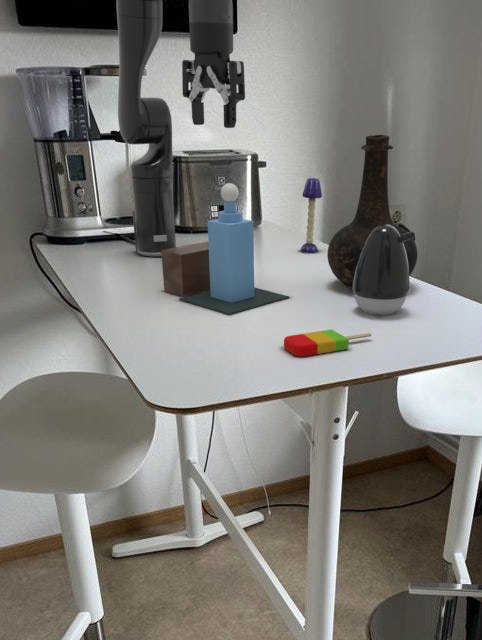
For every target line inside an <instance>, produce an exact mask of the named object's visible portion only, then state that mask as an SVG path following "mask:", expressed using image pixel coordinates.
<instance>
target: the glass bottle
mask: <svg viewBox="0 0 482 640" xmlns="http://www.w3.org/2000/svg"><path fill="white" fill-rule="evenodd" d="M390 138H391V137H390V136H389V135H386V134H374V135H373V134H371V135H367V136H366V135H365V144H364V145H362V146H361V147H360V148H361V150H363V151H364V160H363V169H362V179H361V186H360V192H359V198H358V204H357V208H356V212H355V215H354V217H353V219H352V221H351V222H350V223H349V224H347V225H345V226H343V227H342V228H340V229H339V230H338V231H336V233H335V234H334V235H333V236H332V237H331V239H330V241H329V243H328V248H327V255H326V256H327V263H328V265H329V268H330V270H331V272H332V274H333V275H334V276H335V278H336V279H337V280H338V282H340V283H341V284H342V285H344V286H346V287H347V288H350V289H353V280H354V275H355V270H356V266H357V262H358V259H359V256H360V253H361V251H362V248H363V246H364V244H365V242H366V240H367V238H368V236H369V235H370V233H371V232H372V230H373V229H374V228H376V227H377V226H380V225H384V224H387V225H391V226H393V227H394V228H396V229H397V231H398V232H399V234H400V235H401V234H404V233H408V232H412V231H411V230H410V229H409V228H408V227H407V226H406V225H405V224H403V223H398V225H397V224H395V222H394V221H393V218H392V215H391V210H390V203H389V189H388V188H389V182H388V181H389V180H388V174H389V173H388V172H389V166H388V165H389V150H393V149H394V146H392V145H391V144H389V143H390ZM403 244H404V247H405V250H406V254H407V259H408V266H409V277H410V276H411V275H412V273H413V271H414V270H415V268H416V266H417V262H418V247H417V243H416V236H415V237H414V238H411V239H410V240H407V241H405V242H403Z"/></svg>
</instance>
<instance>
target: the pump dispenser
mask: <svg viewBox="0 0 482 640" xmlns="http://www.w3.org/2000/svg"><path fill="white" fill-rule="evenodd" d="M416 235H417V234H416V232H415V231H414V230H413V231H411V232H408V233H404V234H401V235H400V234H399V232H398V231H397V229H396V228H394V227H393V226H391V225H387V224H384V225H380V226H377V227H376V228H374V229H373V230H372V232H371V233H370V235H369V236H368V238H367V240H366V242H365V244H364V246H363V248H362V251H361V253H360V256H359V259H358V262H357V266H356V270H355V275H354V280H353V288H352V292H353V294H354V299H355V303H356V304H357V306H358V307H359V308H360V309H361V310H362V311H363V312H365V313H366V314H369V315H373V316H388V315H392V314H394V313H395V312H397V311H399V310H400V309H401V308H402V307H403V306H404V303H405V302H406V299H407V296H408V295H409V293H410V287H411V286H410V285H411V284H410V276H409V266H408V259H407V254H406V250H405V247H404V244H403V242H405V241H407V240H410V239H411V238H414V237H415V238H416Z"/></svg>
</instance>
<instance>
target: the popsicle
mask: <svg viewBox="0 0 482 640" xmlns="http://www.w3.org/2000/svg"><path fill="white" fill-rule="evenodd" d="M369 337H372V333H370V332H365V333H360V334H353V335H347V336H345V335H342V334H340V333H339V332H337V331H336V330H334V329H332V328H331V329H325V330H318V331H311V332H305V333H299V334H291V335H287V336H285V337H284V339H283V348H284V350H286V351H288V352H289V353H290V354H292V355H293V356H295V357H301V358H302V357H309V356H314V355H320V354H326V353H333V352H338V351H344V350H348V348H349V344H350V343H349V341H351V340H356V339H362V338H363V339H364V338H369Z"/></svg>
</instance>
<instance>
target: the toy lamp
mask: <svg viewBox="0 0 482 640" xmlns="http://www.w3.org/2000/svg"><path fill="white" fill-rule="evenodd" d="M322 192H323V191H322V186H321V180H320V178H315V177H309V178H307V179H306V181H305V184H304V188H303V192H302V198H306V199H308V201H307V202H308V205H307V209H308V211H307V220H306V222H307V225H306V239H305V241H306V243H304V244H303V245H302V246H301V247H300V251H301V252H302V253H306V254H315V253H318V252H319V250H318V246H317V245H316V244H315V243H313V242H314V238H313V237H314V235H315V234H314V233H315V232H314V230H315V216H316V212H315V210H316V202H317V200H316V199H322V198H323V193H322Z"/></svg>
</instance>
